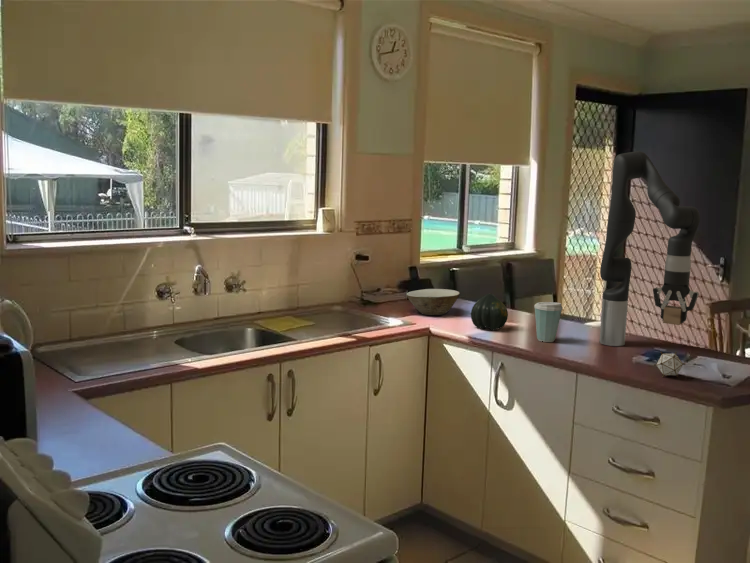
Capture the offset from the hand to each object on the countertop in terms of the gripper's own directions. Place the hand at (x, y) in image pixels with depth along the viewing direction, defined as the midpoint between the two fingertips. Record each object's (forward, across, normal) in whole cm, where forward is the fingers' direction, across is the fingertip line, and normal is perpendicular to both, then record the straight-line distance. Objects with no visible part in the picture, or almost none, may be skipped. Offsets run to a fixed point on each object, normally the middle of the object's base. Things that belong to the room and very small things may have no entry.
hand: (673, 321), depth 238 cm
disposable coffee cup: (+19, +50, -21) cm, 57 cm away
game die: (+19, 0, 0) cm, 19 cm away
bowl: (+19, +110, -37) cm, 118 cm away
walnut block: (0, 0, 0) cm, 0 cm away
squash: (+19, +77, -26) cm, 83 cm away
